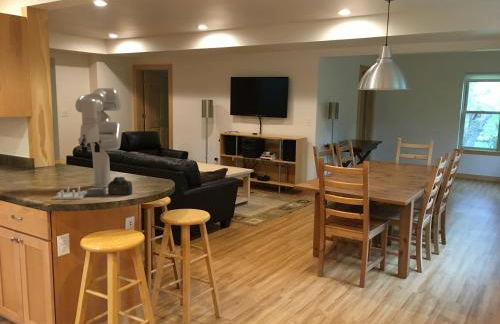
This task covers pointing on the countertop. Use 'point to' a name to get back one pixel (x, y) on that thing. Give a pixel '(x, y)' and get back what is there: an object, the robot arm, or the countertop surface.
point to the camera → (120, 186)
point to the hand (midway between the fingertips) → (91, 153)
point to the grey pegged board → (70, 194)
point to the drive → (96, 191)
